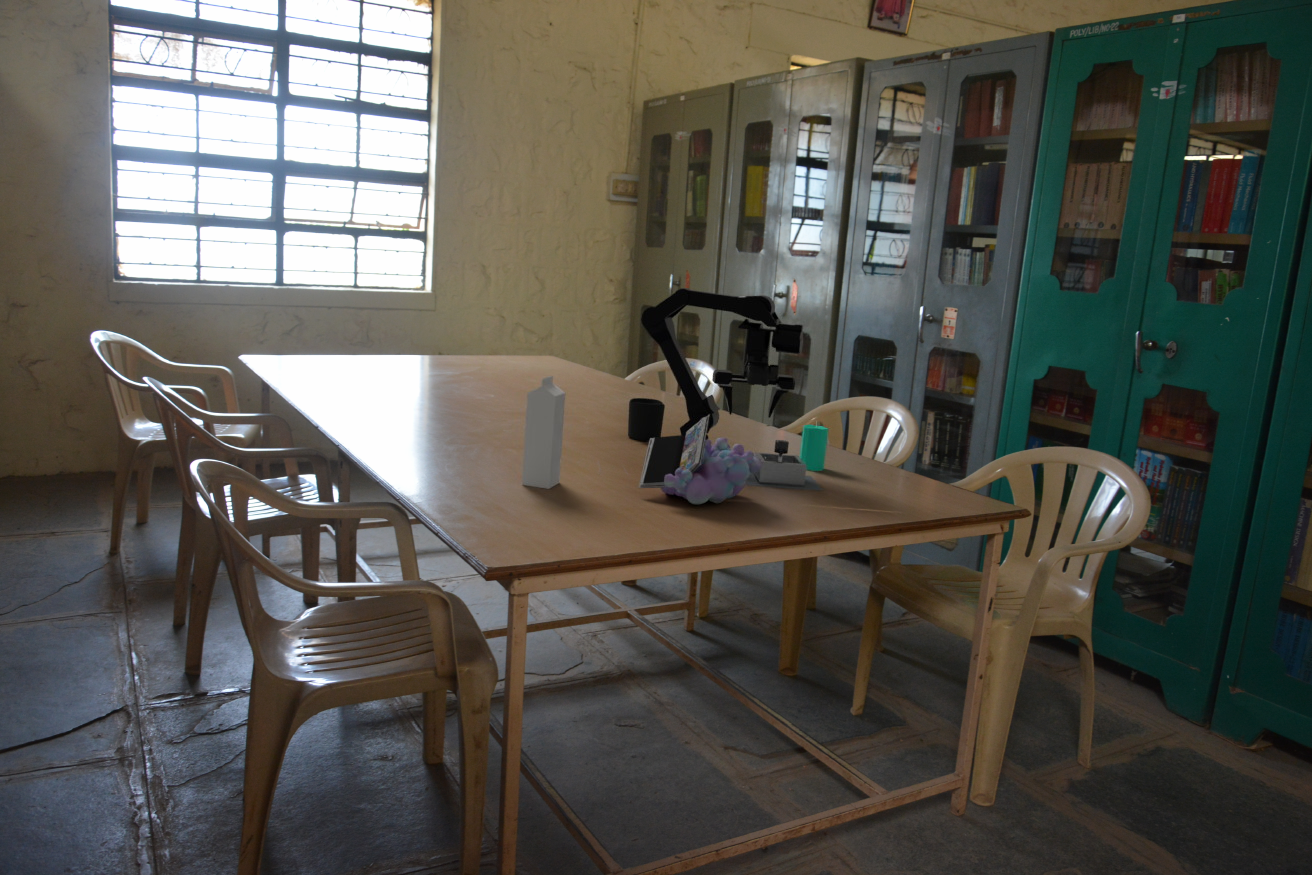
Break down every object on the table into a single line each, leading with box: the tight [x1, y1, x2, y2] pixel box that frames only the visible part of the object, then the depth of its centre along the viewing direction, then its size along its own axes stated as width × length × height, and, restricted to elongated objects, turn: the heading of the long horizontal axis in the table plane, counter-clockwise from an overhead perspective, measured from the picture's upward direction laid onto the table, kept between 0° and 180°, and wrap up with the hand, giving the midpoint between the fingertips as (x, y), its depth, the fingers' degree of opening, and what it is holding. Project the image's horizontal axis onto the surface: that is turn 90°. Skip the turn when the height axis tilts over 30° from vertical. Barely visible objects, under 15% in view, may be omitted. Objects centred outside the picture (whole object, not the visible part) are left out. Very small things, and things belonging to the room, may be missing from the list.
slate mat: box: [745, 473, 825, 492], centre depth 213 cm, size 18×14×1 cm
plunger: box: [773, 439, 789, 462], centre depth 212 cm, size 7×7×8 cm
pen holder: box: [627, 397, 666, 442], centre depth 249 cm, size 9×9×10 cm
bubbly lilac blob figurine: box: [638, 414, 762, 505], centre depth 190 cm, size 20×22×18 cm
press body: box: [753, 451, 807, 487], centre depth 213 cm, size 13×10×5 cm
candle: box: [799, 420, 829, 472], centre depth 229 cm, size 6×6×12 cm
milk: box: [521, 375, 566, 490], centre depth 190 cm, size 6×6×22 cm
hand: (749, 415), depth 222 cm, fingers open, 9 cm apart
